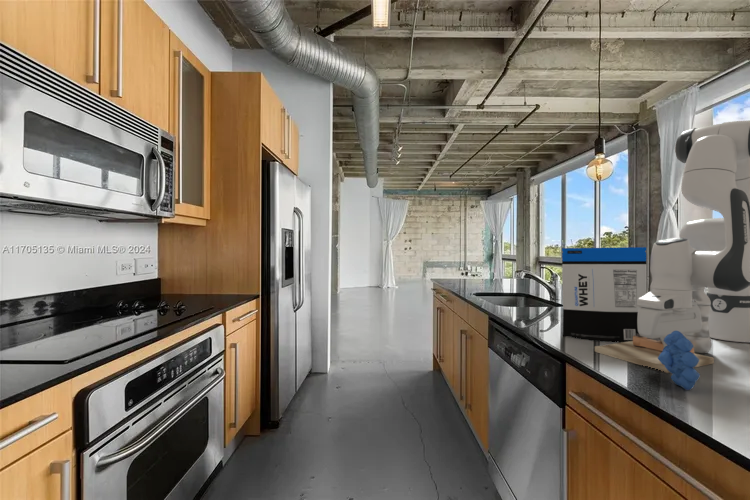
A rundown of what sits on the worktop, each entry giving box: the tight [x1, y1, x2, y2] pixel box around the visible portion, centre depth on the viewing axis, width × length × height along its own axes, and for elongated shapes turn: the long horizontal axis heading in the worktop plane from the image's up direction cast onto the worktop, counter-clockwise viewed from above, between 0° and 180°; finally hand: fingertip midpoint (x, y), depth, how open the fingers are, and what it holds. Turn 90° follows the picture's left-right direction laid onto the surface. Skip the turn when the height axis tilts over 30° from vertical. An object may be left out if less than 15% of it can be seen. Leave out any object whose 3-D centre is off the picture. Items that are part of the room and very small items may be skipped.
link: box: [633, 336, 694, 354], centre depth 107 cm, size 15×4×2 cm, turn 22°
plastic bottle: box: [683, 285, 713, 354], centre depth 110 cm, size 6×7×20 cm
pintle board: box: [594, 333, 715, 374], centre depth 106 cm, size 18×20×6 cm
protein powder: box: [561, 246, 647, 343], centre depth 127 cm, size 10×24×30 cm, turn 71°
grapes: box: [658, 331, 701, 391], centre depth 86 cm, size 12×7×12 cm, turn 166°
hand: (670, 351), depth 102 cm, fingers closed
